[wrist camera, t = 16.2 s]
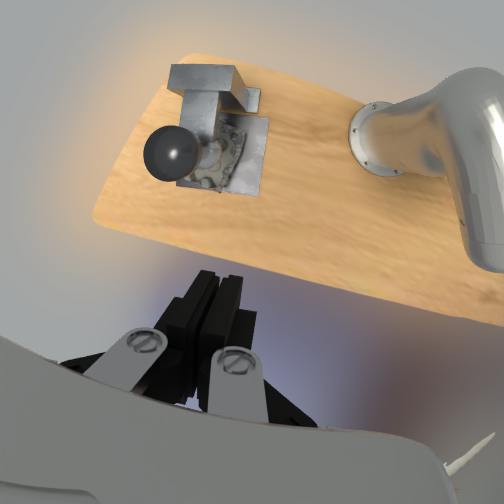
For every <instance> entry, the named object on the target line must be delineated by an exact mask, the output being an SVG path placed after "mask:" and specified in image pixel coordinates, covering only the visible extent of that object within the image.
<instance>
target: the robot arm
mask: <svg viewBox="0 0 504 504" xmlns="http://www.w3.org/2000/svg"><path fill="white" fill-rule="evenodd" d="M372 106H373V107H374V109H373V108H372ZM353 129H354V130H355V132H353V131H352V130H353ZM349 144H350V148H351V151H352V153H353V155H354V157H355V159H356V160H357V161H358V163H359V164H360V165H361V166H362V167H363V168H365V169H366V170H367V171H369V172H371V173H372V174H375V175H378V176H382V177H393V176H398V175H400V174H402V173H404V172H410V173H414V174H419V175H424V176H428V177H444V176H447V178H448V181H449V185H450V187H451V189H452V193H453V197H454V202H455V206H456V211H457V215H458V220H459V225H460V231H461V236H462V240H463V245H464V248H465V251H466V253H467V255H468V257H469V259H470V260H471V261H472V262H473V263H474V264H475V265H476V266H478V267H479V268H481V269H483V270H486V271H489V272H494V273H503V274H504V76H503V75H502V74H500V73H499V72H497V71H495V70H492V69H489V68H483V67H476V68H469V69H465V70H462V71H459V72H457V73H455V74H453V75H451V76H450V77H448V78H446V79H445V80H443V81H442V82H441V83H439V84H438V85H437V86H436V87H434V88H433V89H432V90H430V91H429V92H427V93H425V94H422V95H420V96H417V97H414V98H411V99H408V100H406V101H403V102H400V103H397V104H391V103H388V102H374V103H370V104H368V105H366V106H364V107H362V108H361V109H360V110H359V111H358V112H357V113H356V114H355V115H354V117H353V118H352V121H351V123H350V127H349ZM365 161H366V164H364V162H365ZM394 170H396V172H394ZM219 281H220V277H218V276H215V272H211V271H205V270H201V271H200V272H199V274H198V275H197V277H196V278H195V280H194V282H193V284H192V285H191V286H190V288H189V290H188V291H187V293H186V294H185V296H184V297H183V298H179V297H174V298H173V300H172V301H171V303H170V304H169V306H168V307H167V309H166V310H165V312H164V313H163V314H162V316H161V318H160V319H159V320H158V322H157V323H156V325H155V327H154V328H153V329H152V328H136V329H133V330H131V331H129V332H127V333H126V334H125V335H124V336H123V337H122V338H121V339H119V340H118V341H117V342H116V343H115V344H114V345H113V346H112V347H111V348H110V349H109V350H108V351H107V352H103V353H99V354H95V355H90V356H86V357H82V358H76V359H72V360H67V361H64V362H62V363H60V364H58V363H57V361H54V360H50V359H47V358H45V357H42V356H41V355H38V354H36V353H34V352H32V351H30V350H29V349H27V348H24V347H22V346H20V345H18V344H16V343H14V342H12V341H10V340H8V339H6V338H4V337H2V336H0V504H458V501H457V498H456V495H455V491H454V489H453V486H452V483H451V481H450V478H449V476H448V474H447V472H446V470H445V468H444V466H443V464H442V463H441V461H440V459H439V458H438V457H437V455H436V454H435V453H434V452H433V451H432V450H431V449H430V448H428V447H427V446H425V445H423V444H421V443H419V442H416V441H414V440H411V439H407V438H404V437H400V436H396V435H391V434H385V433H378V432H370V431H360V430H346V429H341V428H336V427H332V426H327V427H326V428H320V427H318V426H317V424H316V423H315V422H314V421H313V420H312V419H311V418H310V417H309V416H307V415H306V414H305V413H304V412H302V411H301V410H300V409H299V408H298V407H296V406H295V405H294V404H293V403H291V402H290V401H289V400H288V399H287V398H285V397H284V396H283V395H282V394H281V393H279V392H278V391H277V390H276V389H275V388H274V387H272V386H271V385H270V384H269V383H268V382H267V381H265V380H264V379H263V373H262V364H261V361H260V358H259V357H258V356H257V355H256V354H255V353H254V352H252V351H251V346H252V340H253V333H254V327H255V321H256V314H257V312H255V311H249V310H243V309H239V306H240V298H241V291H242V284H243V277H240V276H234V275H229V277H228V278H223V279H222V282H221V284H220V286H219ZM196 388H197V399H199V407H200V409H201V410H202V411H198V410H194V409H189V408H185V407H181V406H177V405H173V404H176V403H179V404H184V405H185V404H186V401H187V398H188V397H191V398H193V397H194V394H195V391H196Z"/></svg>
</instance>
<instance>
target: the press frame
mask: <svg viewBox="0 0 504 504" xmlns="http://www.w3.org/2000/svg"><path fill="white" fill-rule="evenodd" d="M167 89H168V90H170V91H172V92H174V93H176V94H178V95H180V96H182V97H183V102H182V109H181V116H180V124H179V127H183V128H187V129H189V130H191V131H192V132H193V133H195V134H196V136H197V137H198V138H199V140H200V142H210V143H216V138H217V131H218V123H219V122H221V123H224V124H227V125H230V126H232V127H236V128H239V129H241V130H243V131H245V135H244V136H245V139H244V143H243V146H242V149H241V153H240V156H239V158H238V160H237V162H236V164H235V166H234V167H233V170H232V172H231V174H230V175H229V176H228V177H229V178H230V180H229V182H228V184H227V185H224V186H223V189H222V191H221V192H228V193H235V194H242V195H249V196H256V197H258V194H259V187H260V180H261V173H262V167H263V160H264V153H265V146H266V139H267V132H268V126H269V119H270V118H264V117H256V116H248V115H239V114H229V113H220V110H228V111H238V112H248V113H256V114H257V113H258V106H259V99H260V93H261V89H256V88H247V87H246V86H245V84H244V82H243V80H242V78H241V76H240V75H239V73H238V71H237V69H236V67H235V66H234V65H216V64H172V65H171V70H170V75H169V80H168V86H167ZM229 135H230V137H231V138H230V140H232V138H235V139H236V140H232V141H233V142H234V144H235V145H239V144H241V143H242V138H241V137H240V136H239V134H238V133H235V132H232V133H231V134H229ZM214 184H215V183H214ZM176 186H180V187H189V188H197V189H205V190H211V189H207V188H205V187H203V186H201V185H198V184H195V183H193V182H191V181H188V180H186V179H184V178H183V179H180V180H177V181H176ZM214 186H216V185H214Z"/></svg>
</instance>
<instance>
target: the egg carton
mask: <svg viewBox="0 0 504 504" xmlns="http://www.w3.org/2000/svg"><path fill="white" fill-rule="evenodd" d="M232 132H235V133H238V134H239V136H240V137H241V138H242V143H241V144H239V145H235V144H234V142H233V141H232V140H236V139H235V138H232V140H230V138H231V137H230V135H229V134H231V133H232ZM244 135H245V131H243V130H241V129H239V128H236V127H232V126H230V125H227V124H224V123H221V122H219V123H218V131H217V138H216V139H217V140H218V141H219V143H220V144H221V147H222V157H221V159H220V161H219V162H218V164H217V165H215V166H214V167H212V168H209V169H204V170H198V169H196V170H195V171H194V172H193V173H192V174H191V175H190V176H188V177H186V178H184V179H186V180H188V181H191V182H193V183H195V184H198V185H201V186H203V187H205V188H207V189H211V190H213V191H216V192H218V193H221V191H222V189H223V186H224V185H227V184H228V182H229V180H230V178H229V177H228V176H229V175H230V174H231V172H232V170H233V167H234V166H235V164H236V162H237V160H238V158H239V156H240V153H241V149H242V146H243V143H244V139H245V136H244ZM214 183H215V184H214ZM214 185H216V186H214Z"/></svg>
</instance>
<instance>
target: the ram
mask: <svg viewBox="0 0 504 504" xmlns="http://www.w3.org/2000/svg"><path fill="white" fill-rule="evenodd" d="M143 157H144V163H145V166H146V168H147V170H148V171H149V172H150V174H151V175H152V176H154V177H155V178H157V179H159V180H161V181H166V182H171V181H176V180H180V179H183V178H186V177H188V176H190V175H191V174H192V173H193V172H194V171H195V170H196V169H198V170H204V169H209V168H212V167H214V166H215V165H217V164H218V162H219V161H220V159H221V157H222V147H221V144H220V143H219V141H218V140H217V139H216V143H210V142H200V140H199V138H198V137H197V136H196V134H195V133H193V132H192V131H191V130H189V129H187V128H183V127H178V126H164V127H161V128H159V129H157V130H156V131H154V132H153V133H152V134H151V135H150V137H149V138H148V140H147V141H146V144H145V147H144V153H143Z"/></svg>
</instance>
